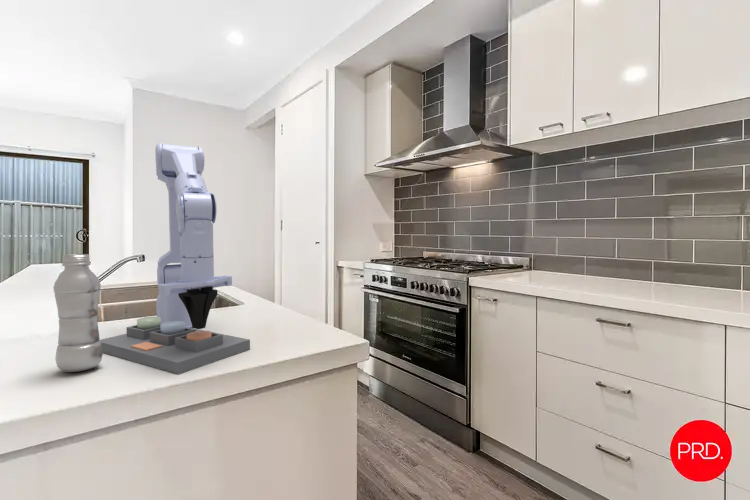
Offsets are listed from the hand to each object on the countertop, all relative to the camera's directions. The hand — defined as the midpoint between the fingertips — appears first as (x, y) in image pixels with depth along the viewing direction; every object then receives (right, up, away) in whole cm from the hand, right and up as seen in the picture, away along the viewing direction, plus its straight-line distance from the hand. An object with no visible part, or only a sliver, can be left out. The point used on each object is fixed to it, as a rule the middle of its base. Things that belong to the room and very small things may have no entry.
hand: (198, 327), depth 77 cm
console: (-7, -5, +4) cm, 10 cm away
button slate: (-7, -2, +4) cm, 8 cm away
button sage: (-14, -2, +8) cm, 16 cm away
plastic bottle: (-17, -6, -7) cm, 20 cm away
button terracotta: (0, -3, 0) cm, 3 cm away
